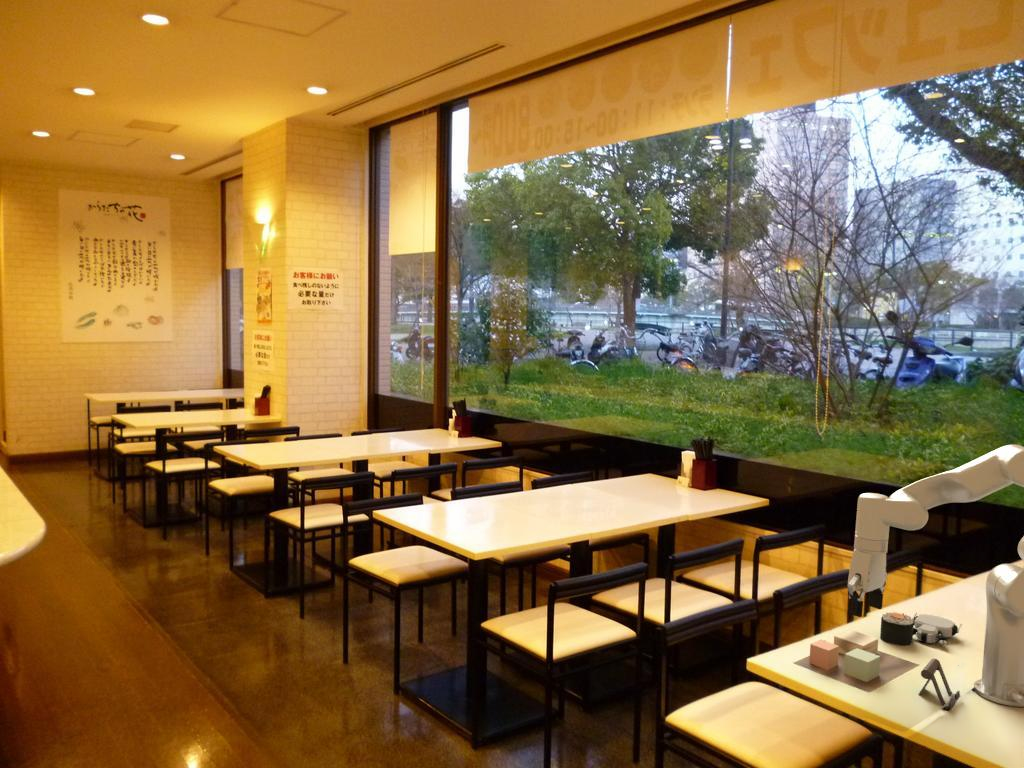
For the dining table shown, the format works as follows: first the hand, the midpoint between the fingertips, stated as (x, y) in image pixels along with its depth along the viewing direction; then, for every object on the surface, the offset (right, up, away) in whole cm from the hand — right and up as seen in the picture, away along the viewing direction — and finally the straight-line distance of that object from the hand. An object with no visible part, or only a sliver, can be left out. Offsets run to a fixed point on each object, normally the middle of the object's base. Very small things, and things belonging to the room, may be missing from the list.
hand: (865, 611), depth 200 cm
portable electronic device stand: (+12, -19, -10) cm, 24 cm away
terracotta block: (-8, -15, +7) cm, 18 cm away
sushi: (+19, -16, +24) cm, 34 cm away
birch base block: (+4, -15, +15) cm, 21 cm away
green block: (-1, -16, +1) cm, 16 cm away
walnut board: (+1, -17, +7) cm, 18 cm away
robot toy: (+31, -16, +29) cm, 45 cm away
